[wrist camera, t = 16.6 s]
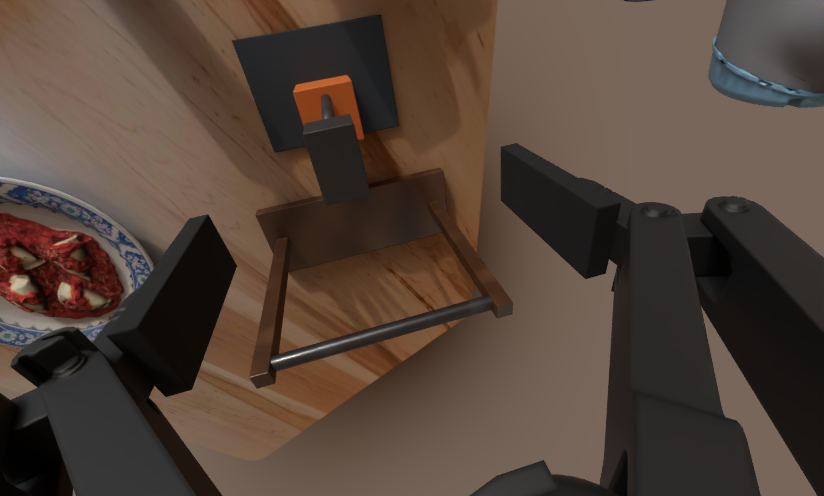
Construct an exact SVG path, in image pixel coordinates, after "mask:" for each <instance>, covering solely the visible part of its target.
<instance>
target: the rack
mask: <svg viewBox="0 0 824 496" xmlns="http://www.w3.org/2000/svg"><path fill="white" fill-rule="evenodd" d="M368 185H369V189H370V194H371V195H370V196H366V197H362V198H358V199H354V200H349V201H345V202H341V203H337V204H333V205H328V206H326V205H325V201H324V198H323V195H321V196H317V197H313V198H308V199H304V200H300V201H295V202H291V203H287V204H283V205H278V206H274V207H270V208H265V209H261V210H257V212H256V217H257V220H258V222H259V224H260V226H261V228H262V230H263V232H264V235H265V237H266V239H267V241H268V243H269V245H270V248H271V250H272V252H273V254H274V255H273V260H272V265H271V270H270V275H269V280H268V285H267V290H266V295H265V301H264V306H263V311H262V316H261V321H260V326H259V331H258V336H257V341H256V346H255V351H254V356H253V361H252V366H251V372H250V377H249V378H250V380H251V381H252V383H253V384H254V385H255V387H256V388H257V389H258V388H261V387H265V386H268V385H271V384H275V380H276V372H277V371H280V370H284V369H287V368H291V367H294V366H298V365H301V364H305V363H308V362H312V361H315V360H319V359H322V358H326V357H329V356H332V355H336V354H339V353H343V352H346V351H350V350H353V349H357V348H360V347H364V346H367V345H371V344H374V343H378V342H381V341H384V340H388V339H391V338H395V337H398V336H402V335H405V334H409V333H412V332H416V331H419V330H423V329H426V328H430V327H433V326H437V325H440V324H443V323H447V322H450V321H454V320H457V319H461V318H464V317H467V316H471V315H474V314H478V313H482V312H485V311H488V310H492V312H493V313H494V315H495V316H496V318H501V317H504V316H507V315H511V314H512V310H513V308H512V307H513V302H512V300H511V299H510V298H509V296H508V295H507V294H506V292H505V291H504V289H503V288H502V287H501V285H500V284H499V283H498V281H497V280H496V279H495V277H494V276H493V274H492V273H491V272H490V270H489V269H488V268H487V266H486V265H485V263H484V262H483V261H482V259H481V258H480V257H479V255H478V254H477V253H476V251H475V250H474V248H473V247H472V246H471V244H470V243H469V242H468V240H467V239H466V238H465V236H464V235H463V233H462V232H461V231H460V229H459V228H458V227H457V225H456V224H455V223H454V221H453V220H452V218H451V217H450V216H449V214H448V213H447V204H446V194H445V184H444V174H443V170H442V169H441V168H437V169H433V170H429V171H424V172H420V173H416V174H411V175H407V176H403V177H399V178H394V179H390V180H386V181H381V182H377V183H373V184H368ZM440 233H443V234H444V236H445V237H446V239H447V241H448V242H449V244H450V245H451V247H452V248H453V250H454V252H455V253H456V255H457V256H458V258H459V260H460V261H461V263H462V264H463V266H464V267H465V269H466V271H467V272H468V274H469V275H470V277H471V278H472V280H473V282H474V283H475V285H476V286H477V288H478V289H479V291H480V293H481V294H482V296H483V297H479V298H476V299H472V300H469V301H465V302H461V303H458V304H454V305H451V306H447V307H444V308H440V309H437V310H433V311H430V312H426V313H423V314H419V315H415V316H412V317H408V318H405V319H401V320H398V321H394V322H391V323H387V324H384V325H380V326H377V327H373V328H369V329H366V330H362V331H359V332H355V333H352V334H348V335H345V336H341V337H338V338H334V339H331V340H327V341H323V342H320V343H316V344H313V345H309V346H306V347H302V348H299V349H295V350H292V351H288V352H285V353H281V354H279V346H280V338H281V330H282V321H283V313H284V305H285V297H286V288H287V280H288V272H292V271H296V270H300V269H303V268H307V267H311V266H315V265H319V264H323V263H327V262H331V261H335V260H339V259H342V258H346V257H350V256H354V255H358V254H362V253H366V252H370V251H374V250H378V249H382V248H385V247H389V246H393V245H397V244H401V243H405V242H409V241H413V240H417V239H421V238H424V237H428V236H432V235H436V234H440Z"/></svg>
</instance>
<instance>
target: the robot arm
mask: <svg viewBox="0 0 824 496" xmlns="http://www.w3.org/2000/svg"><path fill="white" fill-rule="evenodd" d="M712 47H713V54H712V59H711V64H710V68H709V79H710V81H711V83H712V86H713V87H714V88H715V89H716V90H717V91H719V92H720V93H722V94H723V95H725V96H728V97H730V98H733V99H736V100H740V101H743V102H747V103H752V104H758V105H764V106H772V107H784V106H786V105H791V106H795V107H799V108H803V107H821V106H824V0H727V2H726V6H725V9H724V13H723V17H722V20H721V24H720V27H719V31H718V34H717V35H716V36H715V37H714V40H713V44H712ZM501 201H502V202H503V203H504V204H505V205H506V206H507V207H509V208H510V209H511V210H512V211H513V212H514V213H515V214H516V215H517V216H518V217H519V218H520V219H522V221H524V222H525V223H526V224H527V225H528V226H529V227H530V228H531V229H532V230H533V231H534V232H535V233H537V234H538V235H539V236H540V237H541V238H542V239H543V240H544V241H545V242H546V243H547V244H548V245H549V246H551V247H552V248H553V249H554V250H555V251H556V252H557V253H558V254H559V255H560V256H561V257H562V258H563V259H564V260H565V261H567V262H568V263H569V264H570V265H571V266H572V267H573V268H574V269H575V270H576V271H578V273H579V274H580V275H582V276H583V277H584V278H585V279H587V278H591V277H595V276H598V275H602V274H605V273H606V269H607V265H608V261H609V259H610V260H611V261H612V262H614V263H615V264H617V269H616V273H615V278H614V281H613V286H612V290H611V291H613V292H614V303H613V319H612V336H611V337H612V338H611V353H610V368H609V385H608V401H607V418H606V434H605V451H604V461H603V468H602V473H601V478H600V485H598V484H595V483H593V482H590V481H587V480H584V479H580V478H576V477H573V476H565V475H551V473H550V471H549V469H548V467H547V465H546V463H545V462H544V460H543V461H540V462H537V463H534V464H531V465H528V466H525V467H522V468H519V469H516V470H513V471H510V472H507V473H504V474H501V475H498V476H496V477H495V478H493V479H492V480H490V481H489V482H488V483H486V484H485V485H484V486H482V487H481V488H479V489H478V490H477V491H475V492H474V493H473V494H471V495H470V496H761V495H760V491H759V487H758V483H757V479H756V475H755V471H754V467H753V463H752V459H751V454H750V450H749V447H748V442H747V439H746V436H745V433H744V431H743V428H742V427H741V425H740V424H739V423H738V422H737V421H736V420H732V419H729V418H726V417H725V416H724V414H723V411H722V407H721V402H720V397H719V392H718V387H717V383H716V378H715V373H714V368H713V363H712V358H711V353H710V349H709V344H708V339H707V334H706V329H705V324H704V319H703V314H702V309H701V306H702V308H703V310H704V311H705V313H706V314H707V316H708V318H709V320H710V321H711V323H712V324H713V326H714V328H715V329H716V331H717V333H718V334H719V336H720V337H721V339H722V341H723V342H724V344H725V345H726V347H727V349H728V351H729V352H730V354H731V355H732V357H733V359H734V360H735V362H736V364H737V365H738V367H739V368H740V370H741V371H742V373H743V375H744V377H745V378H746V380H747V381H748V383H749V385H750V386H751V388H752V390H753V391H754V393H755V394H756V396H757V398H758V399H759V401H760V403H761V404H762V406H763V408H764V409H765V411H766V412H767V414H768V416H769V417H770V419H771V420H772V422H773V424H774V425H775V427H776V429H777V430H778V432H779V434H780V435H781V437H782V438H783V440H784V442H785V443H786V445H787V447H788V448H789V450H790V451H791V453H792V455H793V457H794V458H795V460H796V461H797V463H798V464H799V466H800V468H801V470H802V471H803V473H804V474H805V476H806V478H807V479H808V481H809V483H810V484H811V486H812V487H813V489H814V491H815V492H816V494H817V496H824V258H823V257H822V256H821V255H820V254H819V253H817V252H816V251H815V250H814V249H813V248H811V247H810V246H809V245H808V244H807V243H805V242H804V241H803V240H802V239H801V238H799V237H798V236H797V235H795V233H793V232H792V231H791V230H790V229H788V228H787V227H786V226H785V225H784V224H783V223H781V222H780V221H779V220H778V219H777V218H775V217H774V216H773V215H772V214H770V213H769V212H768V211H767V210H766V209H765V208H763V207H762V206H761V205H759V204H757V203H755V202H753V201H750V200H747V199H745V198H741V197H739V198H738V197H735V196H731V197H724V196H723V197H714V198H712V199H709V200H708V201H707V202H706V204H705V207H704V209H703V212H702V213H691V214H681V212H680V211H679V210H678V209H676V208H675V207H673V206H670V205H667V204H662V203H656V202H645V203H639V204H635V203H634V202H632V201H630V200H628V199H626V198H624V197H623V196H621V195H619V194H617V193H615V192H612V190H610V189H608V188H604V186H602V185H601V184H599V183H597V182H595V181H592V180H588V179H584V178H577V177H575V176H574V175H572V174H570V173H568V172H566V171H565V170H563V169H561V168H559V167H558V166H555V165H554V164H552V163H550V162H549V161H547V160H545V159H543V158H542V157H540V156H538V155H536V154H535V153H533V152H531V151H529V150H527V149H526V148H523V147H522V146H520V145H519V144H517V143H515V144H511V145H507V146H503V147H501ZM236 267H237V265H236V263H235V261H234V260H233V258H232V256H231V254H230V253H229V251H228V249H227V247H226V245H225V244H224V242H223V240H222V238H221V236H220V235H219V233H218V231H217V229H216V227H215V226H214V224H213V222H212V220H211V219H210V217H209V215H203V216H199V217H195V218H190V219H189V220H188V221H187V223H186V224H185V226H184V227H183V228H182V230H181V231H180V233H179V234H178V235H177V237H176V238H175V240H174V241H173V242H172V244H171V245H170V247H169V248H168V249H167V251H166V252H165V254H164V255H163V256H162V258H161V259H160V261H159V262H158V263H157V265H156V266H155V268H154V269H153V270H152V272H151V273H150V275H149V276H148V277H147V279H146V280H145V282H144V283H143V284H142V286H141V287H140V288H137V289H136V290H135V291H134V292H133V293H131V294H130V295H129V296H128V297H127V298H126V299H124V301H123V302H122V303H121V305H120V306H119V307H118V309H117V310H116V311H117V312H115V313H114V314H113V315H112V317H111V318H110V322H107V324H106V325H105V326H104V328H103V329H102V330H101V332H100V333H99V334H98V336H97V337H96V338H95V340H94V341H93V342H91V341H90V340H89V339H88V338H87V337H86V336H85V335H84V334H83V333H82V332H81V331H80V330H79V329H78V328H76V327H74V326H72V327H64V328H60V329H57V330H54V331H52V332H50V333H48V334H45V335H43V336H41V337H40V338H38V339H36V340H35V341H33V342H32V343H30V344H28V345H27V346H26V347H25V348H24V349H22V350H21V351H20V352H19V353H18V354H17V355H16V356H15V358H14V359H13V360H12V363H11V368H13V369H14V370H15V371H17V372H18V373H19V374H21V375H22V376H23V377H25V378H26V379H27V380H29V381H30V382H31V383H33V384H34V385H35V386H36V387H38V388H36V389H34V390H32V391H30V392H27V393H25V394H23V395H21V396H19V397H16V398H14V399H12V400H9V399H8V398H7V397H5V396H4V395H2V394H1V393H0V496H72V495H73V488H74V491H75V494H76V496H222V495H221V493H220V492H219V490H218V489H217V488H216V486H215V485H214V484H213V482H212V481H211V480H210V478H209V477H208V475H207V474H206V473H205V471H204V470H203V468H202V467H201V466H200V464H199V463H198V462H197V460H196V459H195V457H194V456H193V455H192V453H191V452H190V451H189V449H188V448H187V447H186V445H185V444H184V442H183V441H182V440H181V438H180V437H179V435H178V434H177V433H176V431H175V430H174V429H173V427H172V426H171V424H170V423H169V422H168V420H167V419H166V418H165V416H164V415H163V413H162V412H161V411H160V409H159V408H158V407H157V405H156V404H155V403H154V402H153V401H152V400H151V399H150V398H149V396H150V394H151V391H152V389H153V387H154V385H155V386H156V387H157V388H158V389H159V391H160V392H161V393H162V394H163V395H164V396H165V397H167V396H171V395H175V394H178V393H182V392H185V391H189V390H192V388H193V385H194V383H195V380H196V377H197V374H198V372H199V369H200V366H201V363H202V361H203V358H204V355H205V352H206V350H207V347H208V344H209V341H210V339H211V336H212V333H213V330H214V328H215V325H216V322H217V319H218V317H219V314H220V311H221V308H222V306H223V303H224V300H225V297H226V295H227V292H228V289H229V286H230V284H231V281H232V278H233V276H234V273H235V270H236Z"/></svg>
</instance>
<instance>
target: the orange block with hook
mask: <svg viewBox="0 0 824 496" xmlns="http://www.w3.org/2000/svg"><path fill="white" fill-rule="evenodd" d="M293 94H294V97H295V101H296V104H297V107H298V110H299V113H300V116H301V119H302V123H303V126H304V130H303V137H304V140H305V143H306V146H307V149H308V152H309V155H310V158H311V161H312V164H313V168H314V171H315V174H316V177H317V180H318V183H319V186H320V189H321V192H322V195H323V198H324V201H325V205H326V206H328V205H333V204H337V203H341V202H345V201H349V200H354V199H358V198H362V197H366V196H370V195H371V194H370V189H369V185H368V181H367V177H366V173H365V168H364V164H363V160H362V156H361V151H360V147H359V143H358V140H362V139H364V134H363V129H362V125H361V120H360V116H359V111H358V107H357V102H356V98H355V94H354V89H353V85H352V81H351V79H350V78H349V77H348V75H343V76H338V77H333V78H328V79H323V80H318V81H312V82H307V83H302V84H297V85H296V86H295V89H294V91H293Z"/></svg>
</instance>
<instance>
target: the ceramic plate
mask: <svg viewBox="0 0 824 496" xmlns="http://www.w3.org/2000/svg"><path fill="white" fill-rule="evenodd" d="M154 268H155V267H154V264H153V262H152V260H151V258H150V257H149V255H148V254H147V252H146V251H145V249H144V248H143V246H142V245H141V244H140V243H139V242H138V240H137V239H136V238H135V237H134V236H133V235H132V234H131V233H130V232H129V231H128V230H126V229H125V228H124V227H123V226H122V225H121V224H119V223H118V222H117V221H115V220H114V219H112V218H111V217H110V216H108V215H107V214H105V213H103V212H102V211H100V210H99V209H97V208H95V207H93V206H91V205H90V204H88V203H86V202H84V201H82V200H80V199H77V198H75V197H73V196H71V195H68V194H66V193H63V192H61V191H58V190H55V189H52V188H49V187H46V186H43V185H39V184H35V183H31V182H27V181H22V180H17V179H12V178H4V177H0V344H3V345H7V346H13V347H19V348H25V347H26V346H27V345H28V344H30V343H32V342H33V341H35V340H36V339H38V338H40V337H41V336H43V335H45V334H48V333H50V332H52V331H54V330H57V329H60V328H64V327H72V326H74V327H76V328H78V329H79V330H80V331H81V332H82V333H83V334H84V335H85V336H86V337H87V338H88V339H89V340H90V341H91V342H93V341H94V340H95V338H96V337H97V336H98V334H99V333H100V332H101V330H102V329H103V328H104V326H105V325H106V324H107V322H110V318H111V317H112V315H113V314H114V313H115V312H117V311H116V310H117V309H118V307H119V306H120V305H121V303H122V302H123V301H124V299H126V298H127V297H128V296H129V295H130V294H131V293H133V292H134V291H135V290H136V289H137V288H140V287H141V286H142V284H143V283H144V282H145V280H146V279H147V277H148V276H149V275H150V273H151V272H152V270H153V269H154Z"/></svg>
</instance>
